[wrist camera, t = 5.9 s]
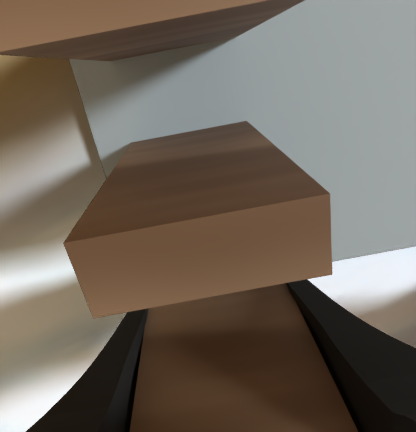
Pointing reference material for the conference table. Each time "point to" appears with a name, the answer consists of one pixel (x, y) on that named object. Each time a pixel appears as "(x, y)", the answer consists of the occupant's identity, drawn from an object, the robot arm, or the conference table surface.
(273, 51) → the slate mat
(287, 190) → the domino
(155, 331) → the domino
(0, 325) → the conference table surface
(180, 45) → the domino
